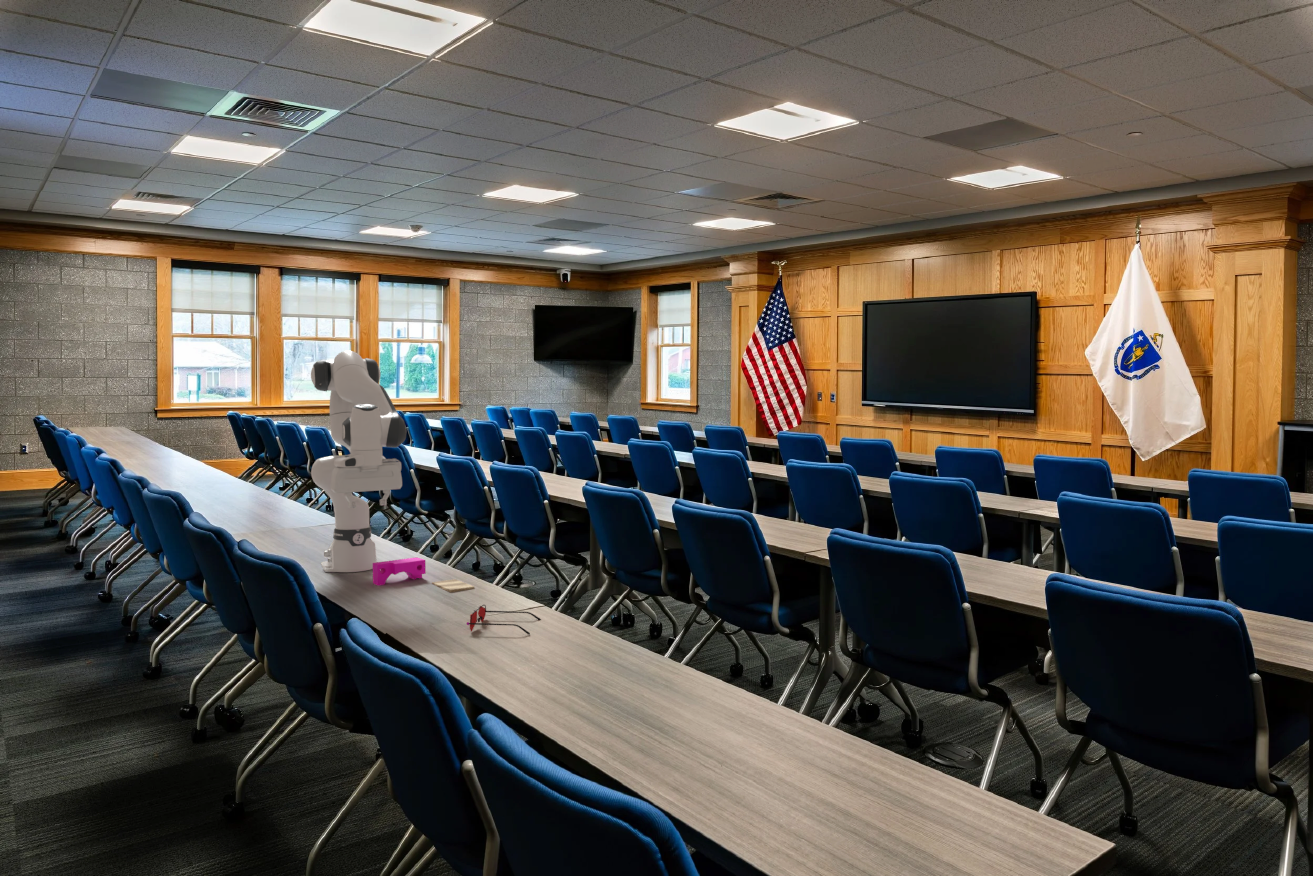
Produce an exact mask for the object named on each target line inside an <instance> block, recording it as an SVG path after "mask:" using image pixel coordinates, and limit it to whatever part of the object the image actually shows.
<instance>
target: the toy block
mask: <svg viewBox="0 0 1313 876" xmlns="http://www.w3.org/2000/svg"><path fill="white" fill-rule="evenodd" d="M400 573H405V574H406V575H407V577H408V578H409V577H410V578H409V579H412V580H417V579H416V578H419V579H422V578H423V575H425V574H426V573H427V572H426V559H424V558H420V557H408V558H402V559H394V560H393V559H391V560H385V561H377V562H376V563H373V569H372V584H373V585H376V586H385V585H386V582H387V580H388V578H389V577H390V576H391V575H395V576H396V575H398V574H400Z"/></svg>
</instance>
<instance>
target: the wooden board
mask: <svg viewBox="0 0 1313 876" xmlns="http://www.w3.org/2000/svg"><path fill="white" fill-rule="evenodd" d="M431 584H432V585H434V586H435V587H438V588H440V589H441V590H444V591H446V592H448V593H456V592H461V591H467V590H474V589H475V586H474V585H471V584H469V583H466V582H463V581H461V580H458V579H457V578H456V579H455V578H454V579H447V580H439V581H431Z"/></svg>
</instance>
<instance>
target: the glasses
mask: <svg viewBox="0 0 1313 876" xmlns="http://www.w3.org/2000/svg"><path fill="white" fill-rule="evenodd" d="M486 613H502V614H503V613H504V614H506V613H509V614H511V613H512V614H513V613H515V614H528V615H531V616H532V617H534V618H536V620H538V621H542V619H541V618H540V617H538V616H537V615H535V614H533V613H532V612H530V611H515V610H514V611H510V610H509V611H507V610H487V606H486V604H482V605H479V607H478V609H477V608H476V609H475V610H473V612H472V613H471V614H470V615H469V622H466V625H468V626H469V630H470V632H473V630H474V628H475V626H512V627H513V626H514V627H517V628H519V629H520V630H522V631H523V632H524V633H525V634H527V635H530V632H529V631H527V629H525V628H524V627H522V626H520V625H518V624H515V623H491V622H490V623H487V622H484V620H485V618H486Z"/></svg>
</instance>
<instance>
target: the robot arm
mask: <svg viewBox="0 0 1313 876" xmlns="http://www.w3.org/2000/svg"><path fill="white" fill-rule="evenodd" d="M310 378H311V383H312V384H313V386H314V388H315V389H316V390H317V391H321V392H327V391H328V392H330V396H329V421H330V423H329V424H330V433H331V438H332V440H333V441H335V443H336V444H338V445H341V446H342V447H345V448H346V449H347V450H348V451H349V454H343V455H342V454H341V455H329V456H323V457H320V458H317V459H316V460H315V461H314V463H313V464H312V467H311V470H310V471H311V472H310V473H311V475H310V476H311V478H312V482H313V483H315V485H316V486H317V487H319V488H320V489H322V490H323V491H324V492H325V493H326V495H328V497H329V498H330V500H331V502H332V505H333V512H334V522H335V523H334V525H335V527H334V529H333V533H332V534H333V536H332V537H333V540H332V541H331V544H330V545H329V547H328V548H327V550H324V551H323V557H324V558H327V560H325V561H322V562H321V563H320V565H321V567H322V570H323V571H324V572H325V573H355V572H365V571H370V570H373V563H376V562H378V561H377V551H376V550H377V549H376V548H377V547H376V543H375V541H373V540H372V538H371V537H372V527H371V525H370V507H369V504H368V503H367V500H364V499H362V498H360V497H359V496H356V495H353V493H359V492H374V491H375V492H376V491H382V493H383V494H384V495H383V496H382V498H381V499H379V506H387V504H388V503H387V502H388V501H387V500H388V498H389V496H390V495H391V490H401V488H402V487H403V477H402V472H401V471H402V462H401V461H400V460H399V459H397V458H395V457H394V458H393V457H392V458H386V457H385V456H384V455H383V447H384V448H396V449H397V448H398V447H399V446H401V445H402V444H403V443H404V442H405V440H407V439H406V438H407V427H406V423H405V420H404V419H403V417H401V415H400V414H399V413H398V410H397V409H396V407H395V405H394V402H392V400H391V397H390V396H389V394H388V392H387V391H386V389H385V387H384V386H383V385H381V384H379V382H380V379H381V369H380V367H379V364H378V362H377V361H376V360H374V359H372V358H368V357H366V358H362V356H361V355H360V354H359V353H357V352H355V351H353V350H344V351H341V352H339V353H338V354H337V355H336V356H335V357H334V358H333V359H327V360H326V359H322V360H321V359H320V360H317V361H316V362H314V363H313V365H312V368H311V371H310Z"/></svg>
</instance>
